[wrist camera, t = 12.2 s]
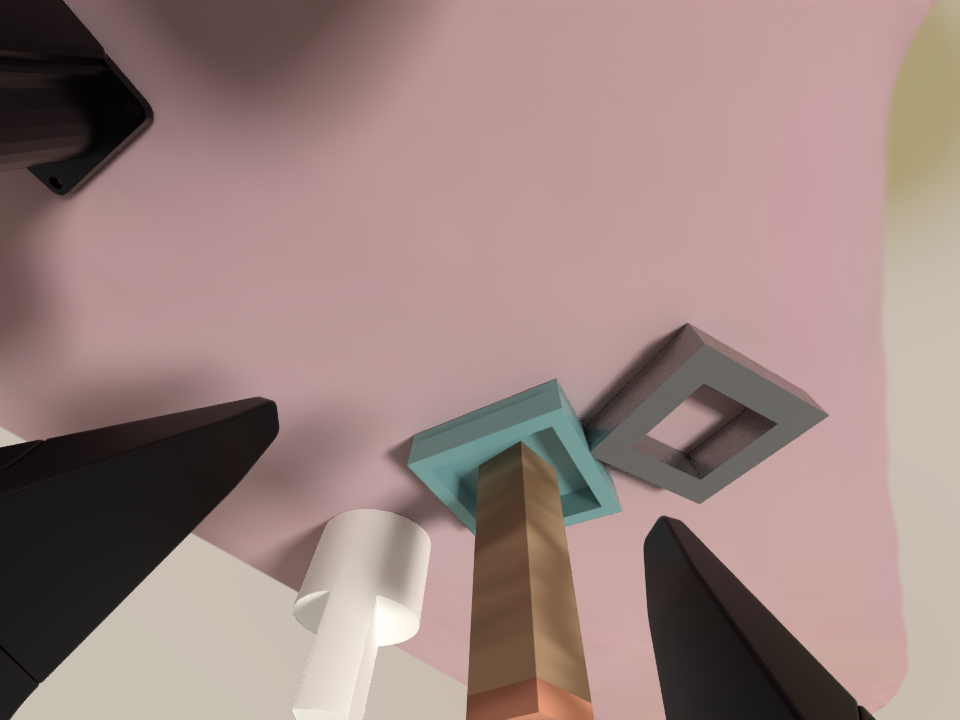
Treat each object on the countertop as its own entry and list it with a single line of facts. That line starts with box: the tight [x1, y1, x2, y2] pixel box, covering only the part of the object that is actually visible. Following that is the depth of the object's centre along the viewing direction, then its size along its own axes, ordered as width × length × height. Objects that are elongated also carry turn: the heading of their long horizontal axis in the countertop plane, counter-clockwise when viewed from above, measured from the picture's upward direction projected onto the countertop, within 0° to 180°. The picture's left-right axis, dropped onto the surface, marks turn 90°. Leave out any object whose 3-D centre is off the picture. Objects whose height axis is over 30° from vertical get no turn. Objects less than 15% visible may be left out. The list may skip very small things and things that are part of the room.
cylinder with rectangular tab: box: [292, 509, 431, 720], centre depth 28 cm, size 9×9×12 cm
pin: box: [466, 441, 594, 720], centre depth 21 cm, size 4×4×13 cm
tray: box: [407, 379, 622, 535], centre depth 26 cm, size 10×10×2 cm
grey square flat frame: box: [584, 323, 829, 504], centre depth 23 cm, size 9×9×2 cm
